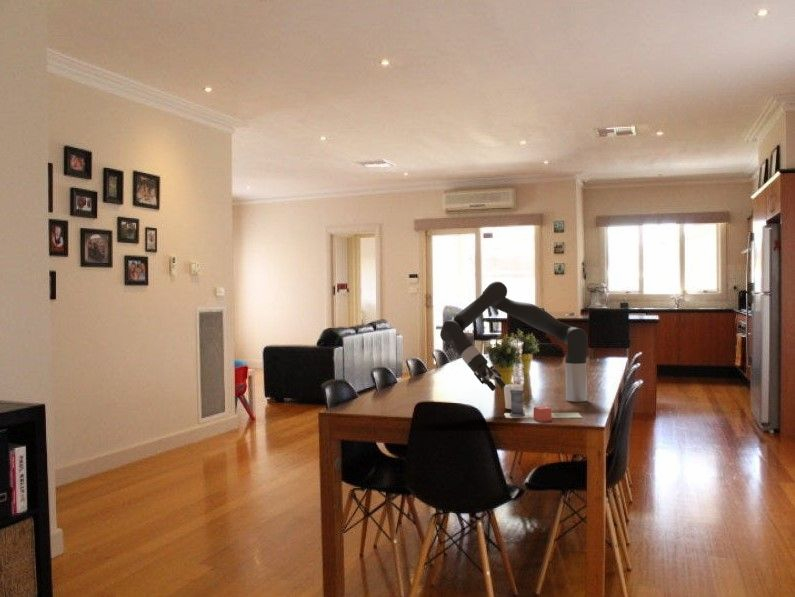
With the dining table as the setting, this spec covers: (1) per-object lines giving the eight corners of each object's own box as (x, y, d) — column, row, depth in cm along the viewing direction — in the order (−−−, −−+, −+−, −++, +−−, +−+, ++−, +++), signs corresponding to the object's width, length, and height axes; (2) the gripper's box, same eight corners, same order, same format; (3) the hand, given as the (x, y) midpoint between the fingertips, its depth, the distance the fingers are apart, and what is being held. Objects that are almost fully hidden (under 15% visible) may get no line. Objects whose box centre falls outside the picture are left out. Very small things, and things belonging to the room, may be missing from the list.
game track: (503, 414, 279) (503, 413, 279) (578, 413, 277) (578, 412, 277) (505, 418, 269) (505, 417, 269) (582, 418, 267) (582, 417, 267)
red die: (533, 419, 266) (533, 405, 266) (545, 418, 267) (545, 405, 267) (539, 422, 261) (539, 407, 261) (551, 421, 262) (551, 407, 262)
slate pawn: (509, 414, 277) (508, 389, 277) (524, 413, 277) (523, 389, 276) (510, 416, 271) (509, 391, 271) (525, 416, 271) (525, 391, 271)
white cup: (509, 410, 287) (508, 387, 287) (501, 407, 294) (500, 384, 294) (526, 409, 289) (525, 386, 289) (517, 406, 297) (517, 383, 297)
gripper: (476, 363, 291) (501, 391, 285) (460, 367, 280) (485, 396, 273) (487, 351, 288) (512, 379, 282) (471, 354, 277) (497, 384, 270)
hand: (499, 388), depth 278 cm, fingers open, 8 cm apart
